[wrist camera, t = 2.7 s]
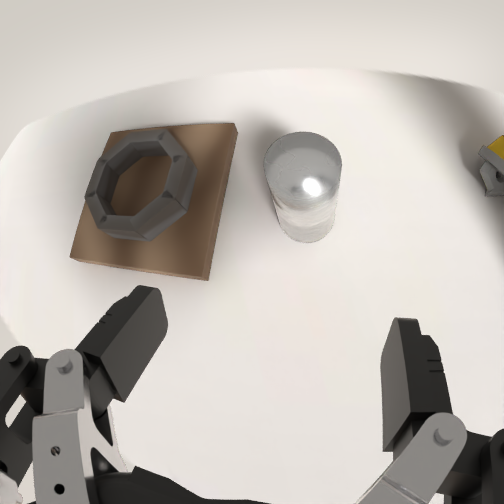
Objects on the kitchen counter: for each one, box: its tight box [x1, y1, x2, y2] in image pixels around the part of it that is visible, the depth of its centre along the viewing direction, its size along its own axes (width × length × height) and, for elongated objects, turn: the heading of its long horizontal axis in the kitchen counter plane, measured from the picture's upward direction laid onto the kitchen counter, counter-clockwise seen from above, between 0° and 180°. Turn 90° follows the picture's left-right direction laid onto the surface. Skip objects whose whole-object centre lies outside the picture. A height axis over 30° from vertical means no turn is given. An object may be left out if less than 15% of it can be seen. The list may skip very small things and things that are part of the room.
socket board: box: [70, 123, 238, 281], centre depth 26 cm, size 14×14×4 cm
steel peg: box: [264, 132, 342, 243], centre depth 21 cm, size 4×4×8 cm
